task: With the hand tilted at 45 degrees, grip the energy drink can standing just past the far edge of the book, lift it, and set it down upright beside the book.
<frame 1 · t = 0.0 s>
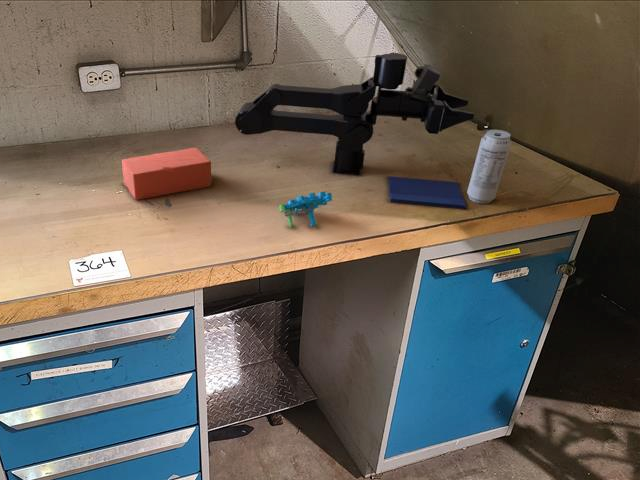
hand: (470, 109, 133), 17 cm above the table, tool horizontal, fingers open, 9 cm apart
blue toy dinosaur: (304, 220, 125), on the table
book: (425, 192, 136), on the table
energy drink can: (479, 199, 135), on the table
brick: (167, 185, 137), on the table
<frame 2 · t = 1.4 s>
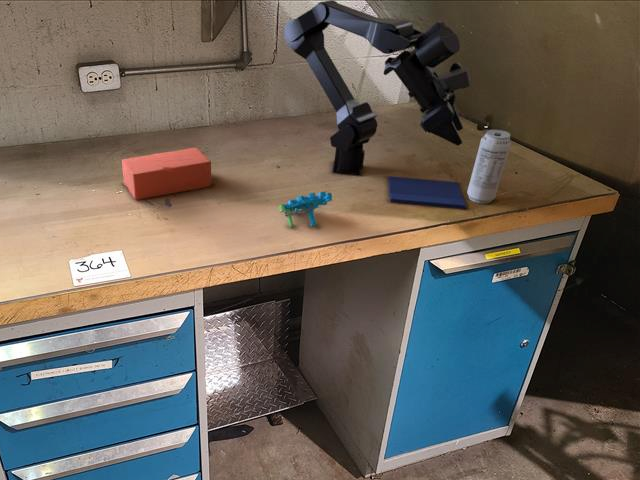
hand: (460, 136, 128), 13 cm above the table, tool tilted 45°, fingers open, 9 cm apart
nothing on the table moved.
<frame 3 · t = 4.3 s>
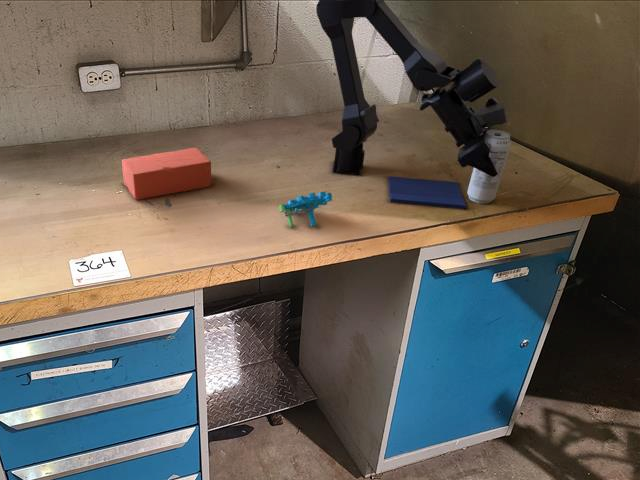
hand: (495, 169, 130), 7 cm above the table, tool tilted 45°, fingers closed on energy drink can, 6 cm apart
energy drink can: (479, 199, 135), on the table, touching gripper
everything else where it was.
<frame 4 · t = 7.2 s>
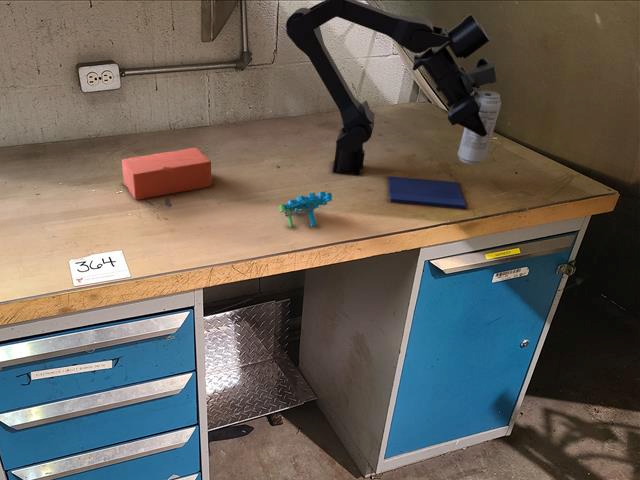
hand: (485, 130, 132), 13 cm above the table, tool tilted 45°, fingers closed on energy drink can, 6 cm apart
energy drink can: (470, 160, 137), point 6 cm above the table, touching gripper
everything else where it was.
when the fingers open (7 cm above the table, at t = 10.2 s): energy drink can stays where it is, on the table.
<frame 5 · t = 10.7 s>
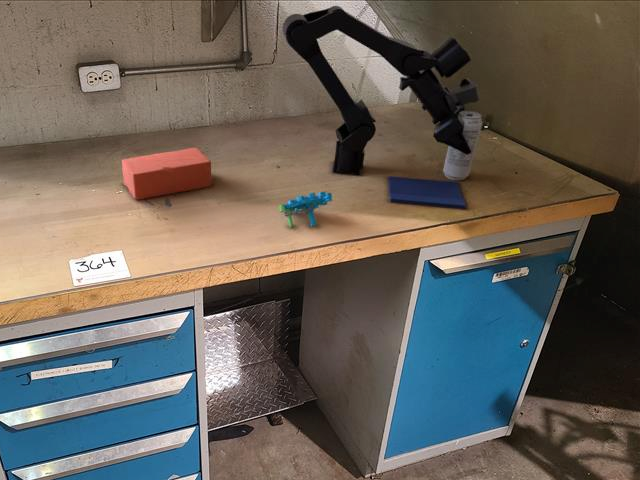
hand: (469, 146, 139), 8 cm above the table, tool tilted 45°, fingers open, 9 cm apart
energy drink can: (454, 176, 144), on the table
everything else where it was.
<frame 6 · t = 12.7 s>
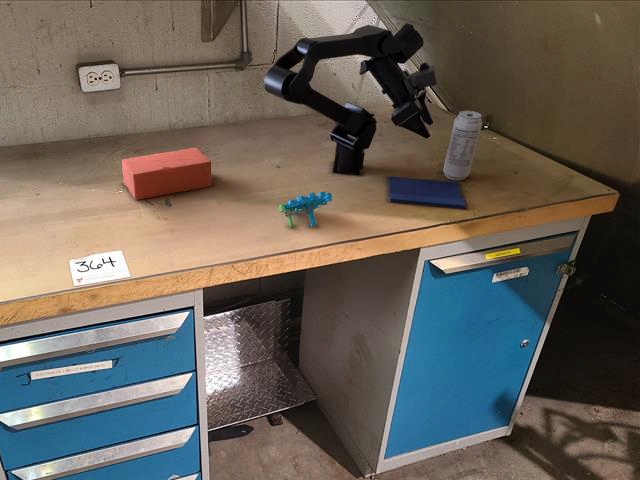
hand: (430, 130, 140), 10 cm above the table, tool tilted 45°, fingers open, 9 cm apart
nothing on the table moved.
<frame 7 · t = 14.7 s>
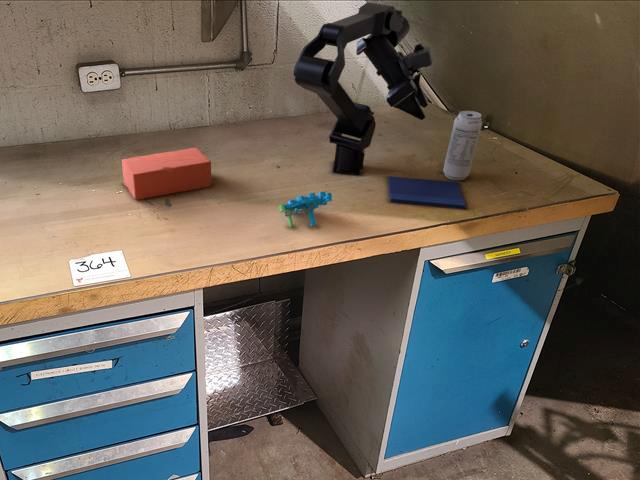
hand: (425, 112, 140), 14 cm above the table, tool tilted 45°, fingers open, 9 cm apart
nothing on the table moved.
at the end: energy drink can inside the target area (1.3 cm from its centre), on the table; energy drink can tilted 0°; the gripper is holding nothing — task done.
